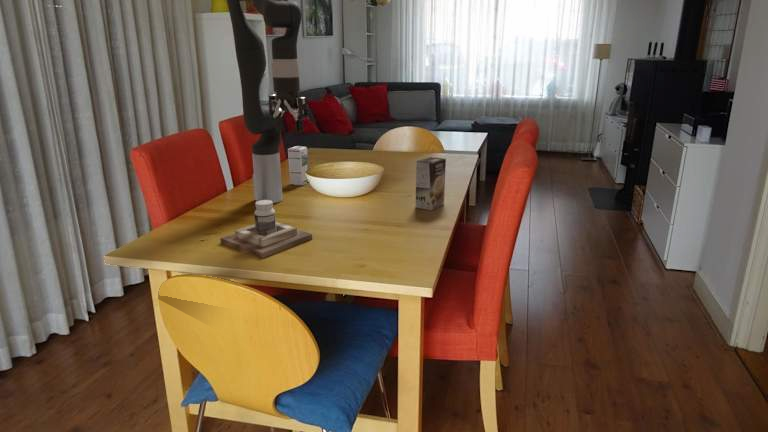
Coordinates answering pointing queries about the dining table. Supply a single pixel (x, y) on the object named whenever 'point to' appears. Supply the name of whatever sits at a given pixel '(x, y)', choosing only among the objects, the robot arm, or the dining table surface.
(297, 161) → the syrup box
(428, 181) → the coffee box
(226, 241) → the socket block
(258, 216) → the pill bottle
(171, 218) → the dining table surface
